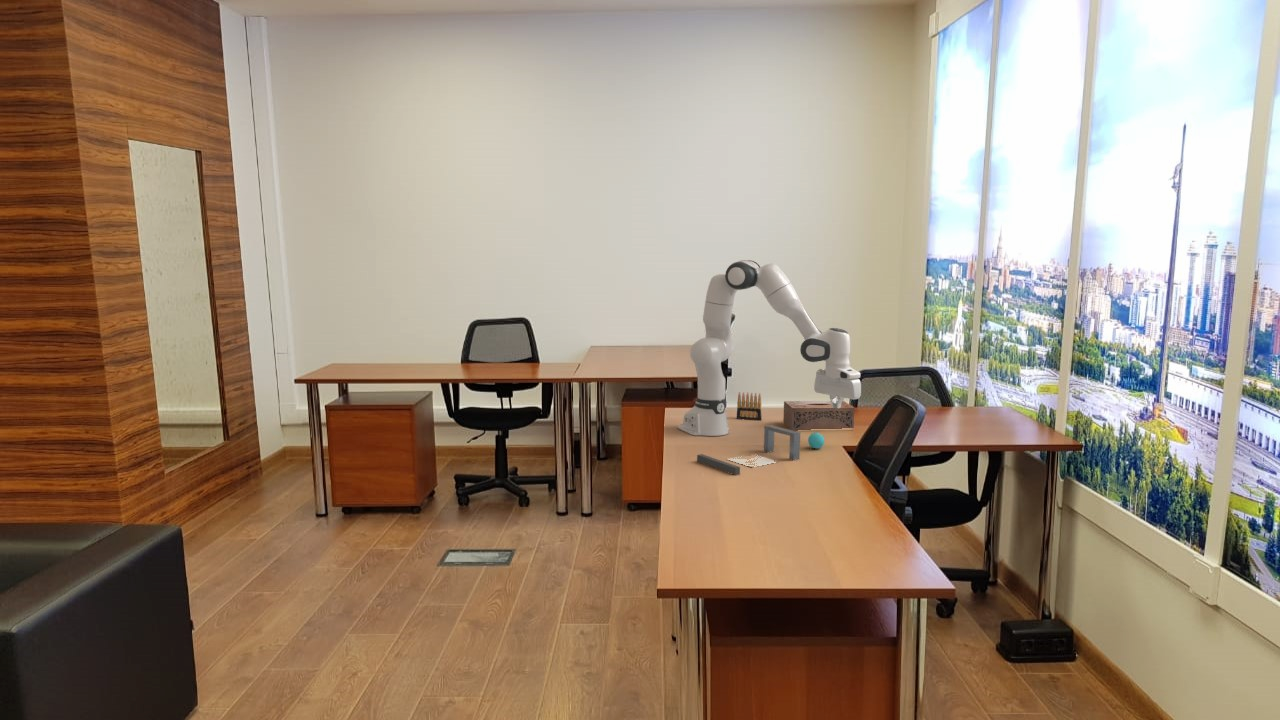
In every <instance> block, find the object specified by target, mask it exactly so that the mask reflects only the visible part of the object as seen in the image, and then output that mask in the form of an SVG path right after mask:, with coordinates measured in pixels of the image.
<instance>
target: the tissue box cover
mask: <svg viewBox="0 0 1280 720" xmlns="http://www.w3.org/2000/svg"><path fill="white" fill-rule="evenodd" d="M837 401H838V400H836V402H837ZM855 411H856V410H855V407H854V406H853V405H851V404H849V403H848V402H846V401H844V400H843V401H842V403H841V408H834V407H832V402H831V400H798V401H797V400H784V401H783V418H782V419H783V423H784V424H785V425H786V427H787V429H788V430H792V431H796V432H799V431H798V430H811V429H842V428H854V427H855V426H854V425H855ZM783 423H782V424H783ZM784 424H783V425H784ZM785 425H784V426H785ZM854 429H855V428H854Z"/></svg>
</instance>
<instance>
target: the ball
mask: <svg viewBox="0 0 1280 720" xmlns="http://www.w3.org/2000/svg"><path fill="white" fill-rule="evenodd" d="M807 443H808V445H809V447H811V448H812V449H814V448H815V450H817V449H818V448H819V449H821V448H822V447H824V444H825V438H824V436H823V435H822V434H821V433H820V432H813V433H811V434H810V435H809V437H808V438H807ZM819 449H818V450H819Z"/></svg>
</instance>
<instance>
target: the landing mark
mask: <svg viewBox="0 0 1280 720" xmlns="http://www.w3.org/2000/svg"><path fill="white" fill-rule="evenodd" d="M756 455H757V456H758V454H756ZM742 456H743V455H741V457H742ZM757 456H756V457H755V458H751V459H749V460H750V461H751V460H752V461H753V460H754V459H755V460H756V459H757V458H758V457H759V456H760V457H761V455H759V456H758V457H757ZM737 457H738V458H739V457H740V456H736V457H735V456H734V457H731V458H726V459H727V460H726V461H729V460H730V462H732V461H733V462H732V463H735V462H736V463H735V464H738V463H739V464H738V465H741V464H743V465H742V466H744V465H745V466H744V467H747V466H754V465H748V464H750V463H745V462H746V461H747V462H748V461H749V460H747V459H737ZM741 457H740V458H741ZM760 457H759V458H758V459H757V460H756V461H755V460H754V461H755V462H752V463H753V464H754V463H755V466H754V468H758V467H757V466H759V467H763V466H762V465H764V466H768V465H767V464H769V465H772V464H771V463H774V464H777V463H776V462H774V459H772V458H768V457H765V456H762V457H761V458H760ZM733 458H734V459H733ZM735 458H736V459H735ZM752 463H751V464H752ZM756 463H757V464H756ZM746 464H747V465H746ZM756 465H757V466H756Z"/></svg>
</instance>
